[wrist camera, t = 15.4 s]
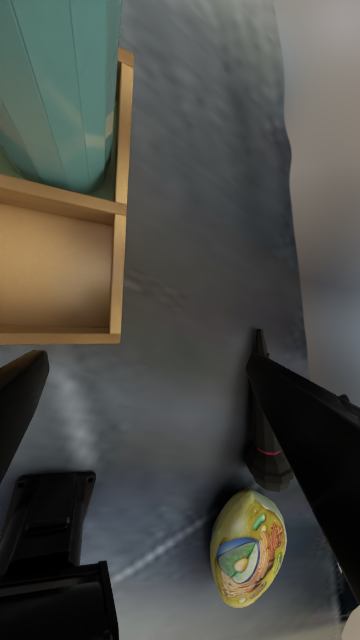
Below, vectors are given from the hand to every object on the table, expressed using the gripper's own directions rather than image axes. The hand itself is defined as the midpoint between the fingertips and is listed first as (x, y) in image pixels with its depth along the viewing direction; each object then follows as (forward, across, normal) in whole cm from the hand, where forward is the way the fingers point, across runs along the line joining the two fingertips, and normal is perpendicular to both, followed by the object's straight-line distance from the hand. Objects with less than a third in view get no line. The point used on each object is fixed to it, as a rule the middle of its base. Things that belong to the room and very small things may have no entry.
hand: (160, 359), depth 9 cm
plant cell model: (0, -15, +30) cm, 34 cm away
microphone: (+9, -16, +14) cm, 23 cm away
